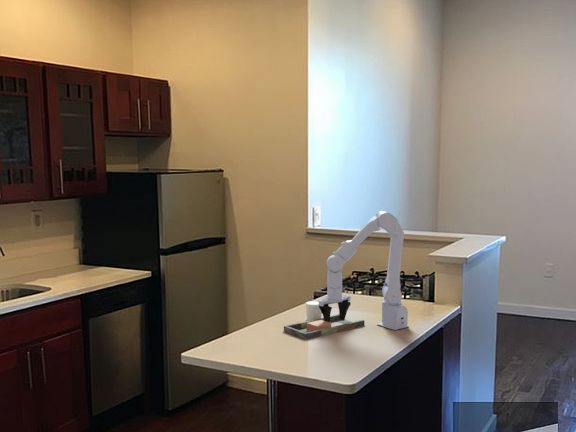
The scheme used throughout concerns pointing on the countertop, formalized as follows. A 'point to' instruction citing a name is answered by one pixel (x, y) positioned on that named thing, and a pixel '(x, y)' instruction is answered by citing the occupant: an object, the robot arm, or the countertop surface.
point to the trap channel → (297, 331)
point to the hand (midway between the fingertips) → (334, 321)
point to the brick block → (318, 325)
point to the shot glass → (313, 310)
